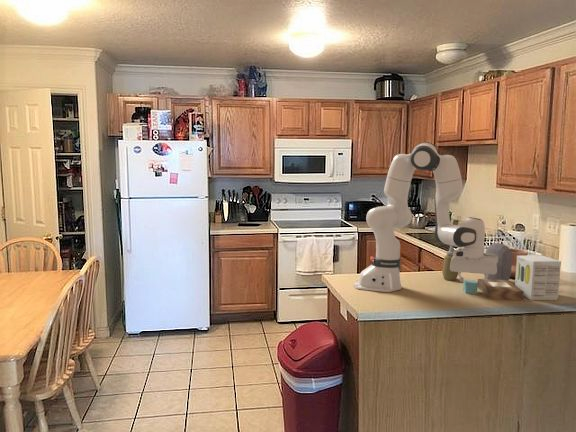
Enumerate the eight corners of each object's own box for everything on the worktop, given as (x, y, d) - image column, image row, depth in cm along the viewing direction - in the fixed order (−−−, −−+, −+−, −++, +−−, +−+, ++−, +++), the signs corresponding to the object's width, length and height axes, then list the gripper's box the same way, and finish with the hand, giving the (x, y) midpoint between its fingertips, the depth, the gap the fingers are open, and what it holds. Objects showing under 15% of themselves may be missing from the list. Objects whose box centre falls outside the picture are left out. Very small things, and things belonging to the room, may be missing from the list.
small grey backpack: (513, 284, 234) (516, 244, 232) (502, 286, 230) (505, 246, 228) (488, 277, 247) (491, 240, 245) (477, 279, 244) (479, 241, 241)
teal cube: (465, 293, 217) (466, 282, 216) (462, 290, 222) (463, 280, 221) (476, 293, 216) (477, 283, 216) (473, 290, 221) (474, 280, 221)
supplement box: (513, 292, 220) (516, 255, 218) (540, 291, 222) (542, 255, 220) (530, 300, 207) (533, 261, 205) (558, 300, 209) (562, 261, 207)
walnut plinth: (489, 298, 209) (490, 289, 208) (477, 286, 228) (477, 278, 228) (523, 300, 207) (523, 291, 207) (507, 288, 227) (508, 279, 226)
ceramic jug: (536, 278, 248) (538, 251, 246) (521, 281, 240) (523, 254, 238) (503, 271, 263) (505, 246, 261) (488, 274, 254) (490, 248, 253)
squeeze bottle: (442, 280, 239) (444, 245, 237) (441, 276, 247) (442, 243, 245) (459, 281, 237) (461, 246, 235) (457, 278, 245) (459, 243, 243)
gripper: (498, 253, 215) (497, 282, 216) (450, 250, 222) (449, 278, 224) (498, 255, 209) (497, 285, 210) (450, 252, 217) (449, 281, 218)
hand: (472, 282), depth 217 cm, fingers open, 8 cm apart
